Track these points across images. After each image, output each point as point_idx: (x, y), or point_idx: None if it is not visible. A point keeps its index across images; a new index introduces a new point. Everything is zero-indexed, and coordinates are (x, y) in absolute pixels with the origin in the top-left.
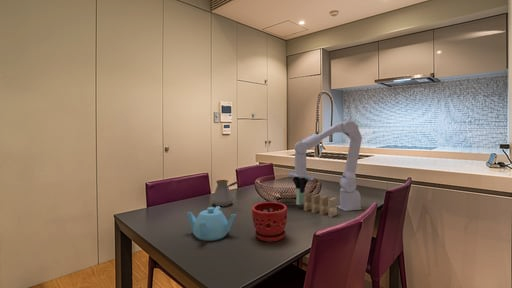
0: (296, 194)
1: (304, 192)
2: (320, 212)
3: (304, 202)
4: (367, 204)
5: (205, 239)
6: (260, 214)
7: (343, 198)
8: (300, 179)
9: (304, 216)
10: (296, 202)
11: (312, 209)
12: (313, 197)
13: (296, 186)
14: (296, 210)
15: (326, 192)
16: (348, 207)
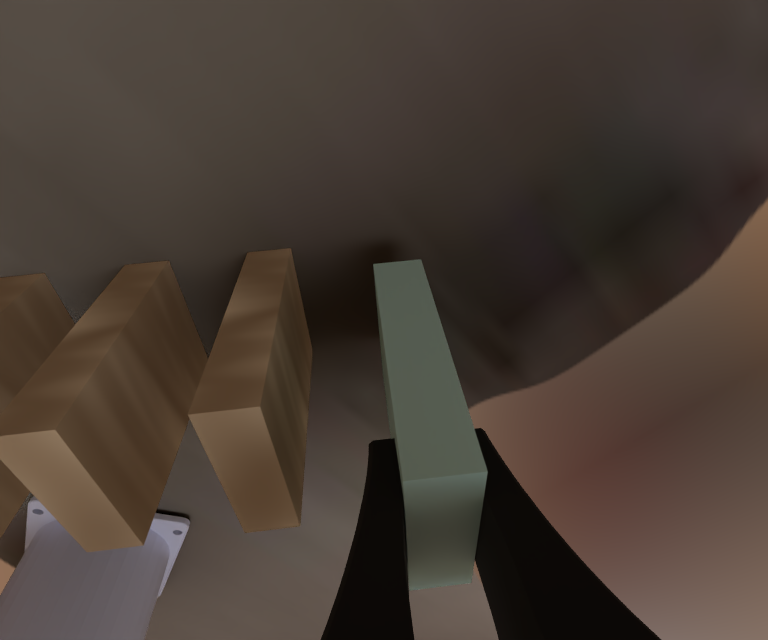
0: (451, 365)
1: None
2: (16, 288)
3: (266, 311)
4: None
5: None
6: None
7: (27, 623)
8: None
9: (38, 23)
10: (419, 275)
11: (138, 282)
12: (22, 419)
13: (528, 537)
14: (357, 178)
15: (493, 632)
16: (34, 543)
